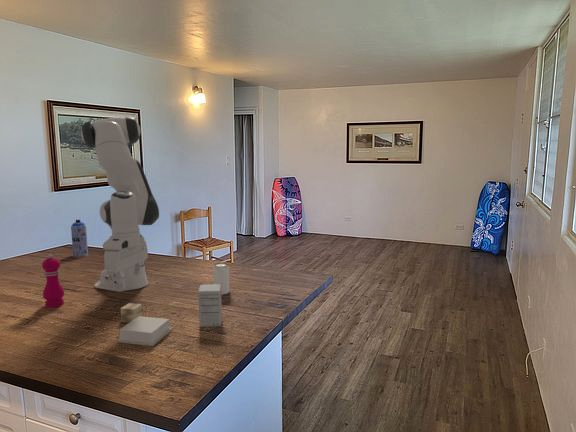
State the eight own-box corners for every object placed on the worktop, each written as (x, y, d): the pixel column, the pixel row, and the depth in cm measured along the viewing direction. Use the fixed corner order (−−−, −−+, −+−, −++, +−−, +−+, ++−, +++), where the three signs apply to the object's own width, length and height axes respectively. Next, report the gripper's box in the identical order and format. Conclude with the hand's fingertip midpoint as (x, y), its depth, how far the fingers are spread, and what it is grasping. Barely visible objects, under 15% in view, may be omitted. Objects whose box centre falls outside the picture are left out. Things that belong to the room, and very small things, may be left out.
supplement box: (201, 318, 154) (200, 284, 152) (222, 318, 155) (221, 283, 153) (198, 327, 147) (197, 291, 145) (221, 326, 148) (220, 290, 146)
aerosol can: (69, 256, 240) (66, 220, 237) (78, 253, 248) (76, 218, 245) (82, 257, 239) (79, 221, 236) (91, 253, 247) (88, 218, 244)
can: (226, 295, 178) (225, 267, 176) (211, 294, 179) (210, 266, 177) (231, 290, 184) (231, 263, 182) (217, 289, 185) (216, 262, 183)
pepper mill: (43, 309, 163) (38, 257, 160) (44, 303, 169) (39, 253, 166) (65, 306, 166) (61, 255, 163) (65, 300, 172) (61, 251, 169)
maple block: (121, 321, 152) (120, 308, 151) (129, 316, 156) (128, 303, 156) (134, 323, 150) (133, 309, 150) (142, 317, 155) (141, 304, 154)
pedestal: (117, 342, 136) (117, 330, 135) (139, 326, 147) (138, 315, 147) (152, 346, 133) (152, 333, 132) (171, 330, 145) (171, 318, 144)
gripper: (135, 233, 159) (138, 270, 161) (99, 245, 140) (102, 287, 142) (151, 233, 158) (153, 271, 160) (116, 246, 138) (119, 288, 140)
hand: (129, 278), depth 151 cm, fingers open, 8 cm apart
